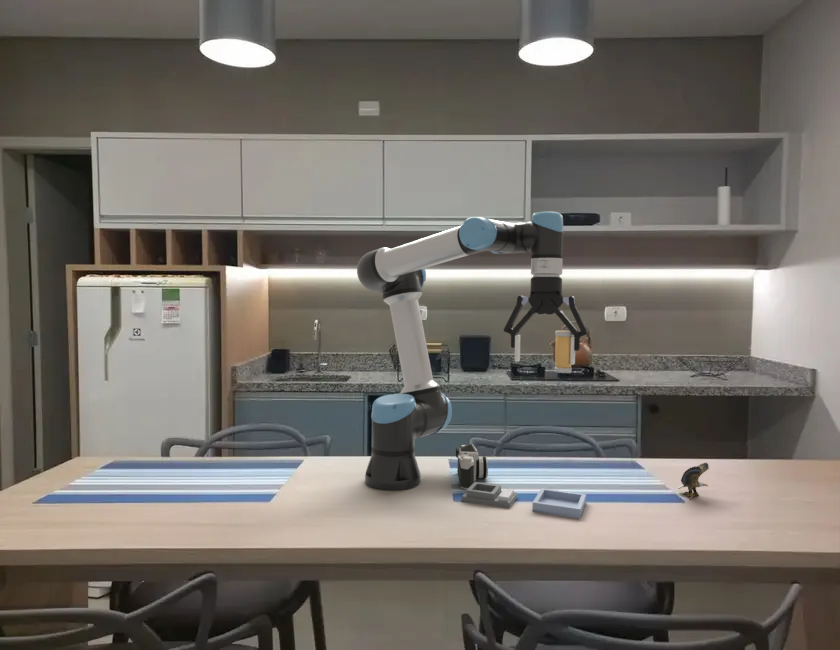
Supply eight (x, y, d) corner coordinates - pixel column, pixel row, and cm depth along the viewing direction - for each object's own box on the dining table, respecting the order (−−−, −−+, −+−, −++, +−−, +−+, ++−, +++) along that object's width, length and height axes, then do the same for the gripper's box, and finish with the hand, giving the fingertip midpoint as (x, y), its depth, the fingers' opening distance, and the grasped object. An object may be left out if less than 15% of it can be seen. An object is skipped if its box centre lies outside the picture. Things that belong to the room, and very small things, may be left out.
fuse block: (461, 502, 145) (461, 490, 145) (471, 492, 152) (471, 480, 152) (509, 509, 140) (509, 497, 140) (516, 498, 148) (517, 486, 148)
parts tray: (532, 512, 138) (532, 502, 138) (541, 497, 149) (541, 488, 148) (580, 520, 134) (580, 509, 134) (585, 504, 144) (586, 494, 144)
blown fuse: (553, 372, 142) (554, 331, 141) (555, 370, 146) (556, 330, 145) (570, 373, 140) (571, 331, 140) (572, 371, 144) (573, 330, 144)
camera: (490, 490, 154) (491, 453, 153) (457, 490, 154) (458, 453, 153) (484, 472, 170) (484, 438, 169) (454, 472, 170) (455, 437, 169)
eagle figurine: (707, 503, 146) (708, 468, 145) (675, 498, 149) (677, 463, 149) (708, 494, 152) (709, 460, 152) (678, 489, 156) (679, 456, 155)
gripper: (492, 275, 145) (491, 361, 146) (597, 275, 135) (595, 367, 136) (500, 276, 152) (498, 358, 153) (600, 276, 142) (598, 363, 143)
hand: (544, 362), depth 145 cm, fingers open, 13 cm apart
